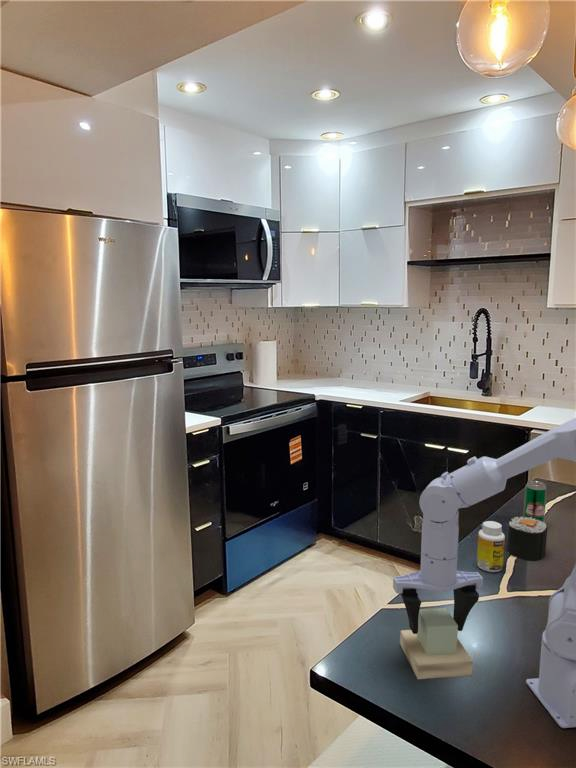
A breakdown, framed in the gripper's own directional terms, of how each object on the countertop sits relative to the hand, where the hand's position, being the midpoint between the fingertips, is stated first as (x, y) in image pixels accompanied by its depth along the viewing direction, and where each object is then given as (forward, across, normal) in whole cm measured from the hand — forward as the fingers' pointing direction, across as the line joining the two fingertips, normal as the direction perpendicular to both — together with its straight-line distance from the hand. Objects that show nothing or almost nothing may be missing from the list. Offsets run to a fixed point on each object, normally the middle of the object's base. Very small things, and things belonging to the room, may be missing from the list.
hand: (435, 628), depth 89 cm
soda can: (+6, -46, -49) cm, 67 cm away
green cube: (+3, 0, 0) cm, 3 cm away
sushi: (+6, -36, -35) cm, 51 cm away
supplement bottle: (+6, -24, -29) cm, 38 cm away
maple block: (+6, 0, 0) cm, 6 cm away
